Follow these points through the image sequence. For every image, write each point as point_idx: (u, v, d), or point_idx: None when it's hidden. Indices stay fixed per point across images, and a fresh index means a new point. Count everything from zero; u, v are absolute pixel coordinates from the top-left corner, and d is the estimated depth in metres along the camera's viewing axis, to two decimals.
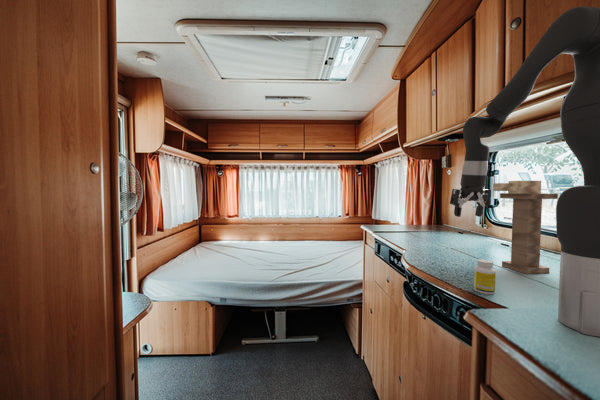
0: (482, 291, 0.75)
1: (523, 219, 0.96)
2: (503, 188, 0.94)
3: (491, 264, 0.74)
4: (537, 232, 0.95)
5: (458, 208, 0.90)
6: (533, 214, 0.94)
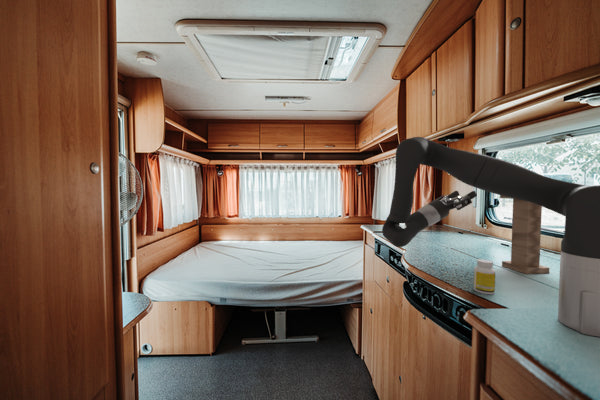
0: (482, 291, 0.75)
1: (523, 219, 0.96)
2: None
3: (491, 264, 0.74)
4: (537, 232, 0.95)
5: (468, 195, 0.88)
6: (533, 214, 0.94)
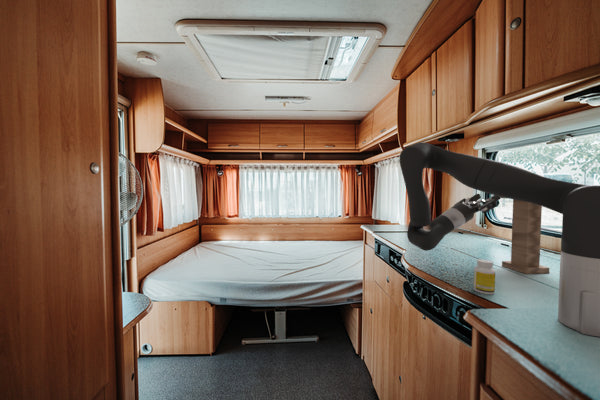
0: (482, 291, 0.75)
1: (523, 219, 0.96)
2: None
3: (491, 264, 0.74)
4: (537, 232, 0.95)
5: (492, 198, 0.90)
6: (533, 214, 0.94)
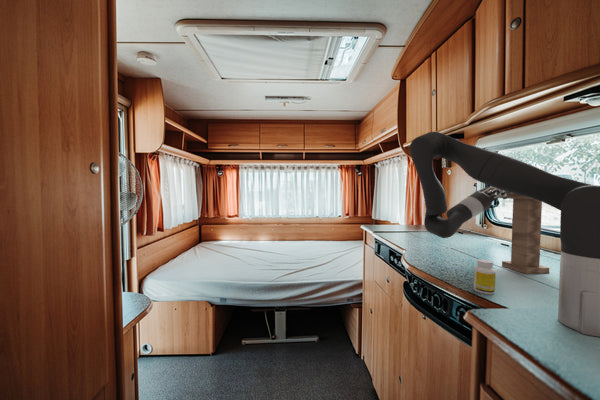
0: (482, 291, 0.75)
1: (523, 219, 0.96)
2: None
3: (491, 264, 0.74)
4: (537, 232, 0.95)
5: None
6: (533, 214, 0.94)
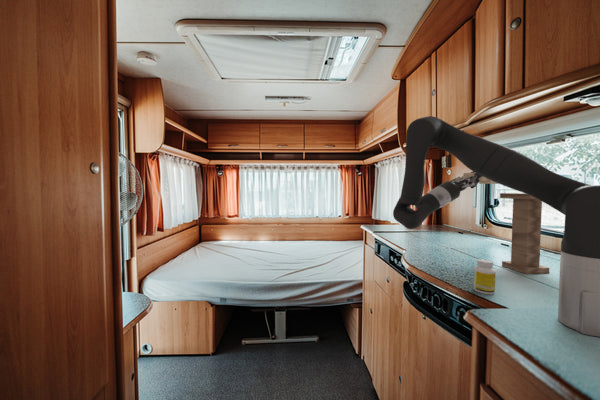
0: (482, 291, 0.75)
1: (523, 219, 0.96)
2: None
3: (491, 264, 0.74)
4: (537, 232, 0.95)
5: (475, 175, 0.91)
6: (533, 214, 0.94)
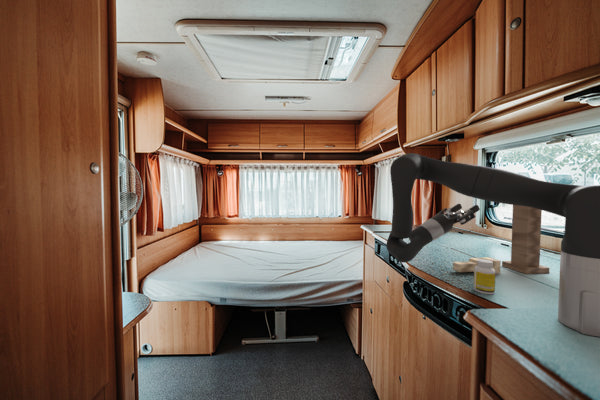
0: (482, 291, 0.75)
1: (523, 219, 0.96)
2: (462, 269, 0.92)
3: (491, 264, 0.74)
4: (537, 232, 0.95)
5: (471, 209, 0.89)
6: (533, 214, 0.94)
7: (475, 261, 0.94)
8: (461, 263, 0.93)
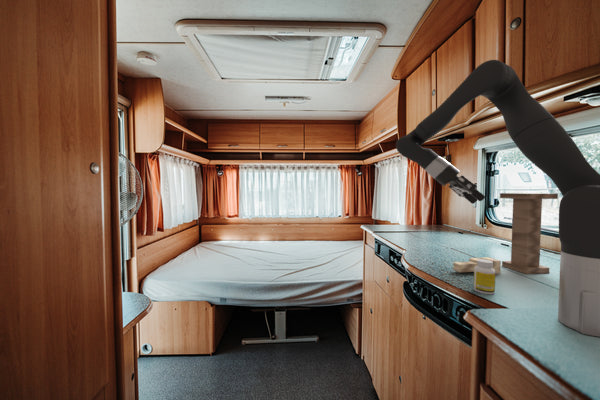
0: (482, 291, 0.75)
1: (523, 219, 0.96)
2: (462, 269, 0.92)
3: (491, 264, 0.74)
4: (537, 232, 0.95)
5: (477, 191, 0.82)
6: (533, 214, 0.94)
7: (475, 261, 0.94)
8: (461, 263, 0.93)
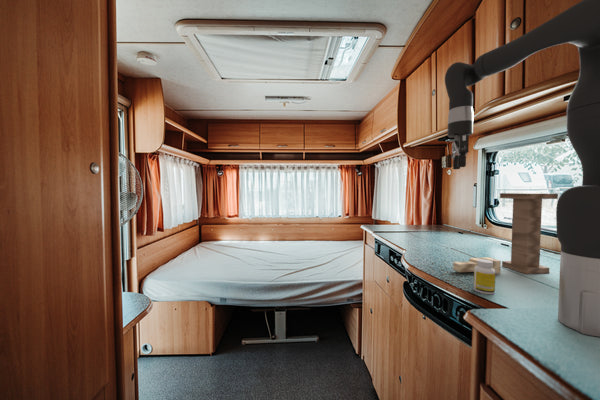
0: (482, 291, 0.75)
1: (523, 219, 0.96)
2: (462, 269, 0.92)
3: (491, 264, 0.74)
4: (537, 232, 0.95)
5: (465, 157, 0.81)
6: (533, 214, 0.94)
7: (475, 261, 0.94)
8: (461, 263, 0.93)
